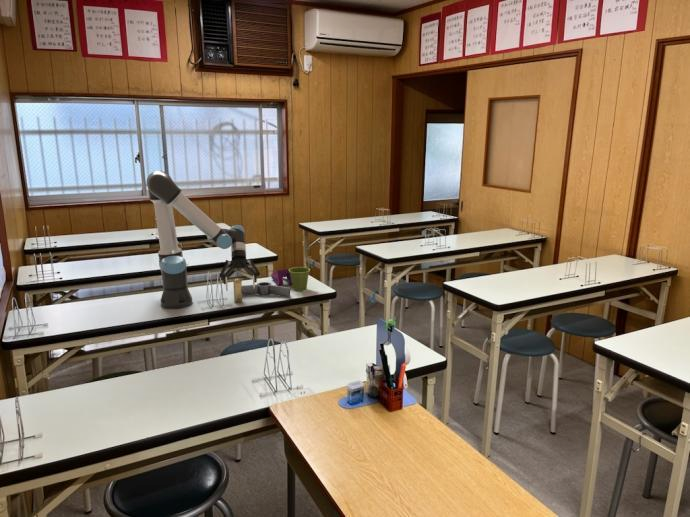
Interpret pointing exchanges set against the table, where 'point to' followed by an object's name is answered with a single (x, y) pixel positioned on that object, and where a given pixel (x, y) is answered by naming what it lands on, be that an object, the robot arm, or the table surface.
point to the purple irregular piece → (281, 277)
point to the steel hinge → (266, 289)
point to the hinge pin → (237, 290)
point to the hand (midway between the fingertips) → (240, 288)
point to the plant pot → (299, 278)
